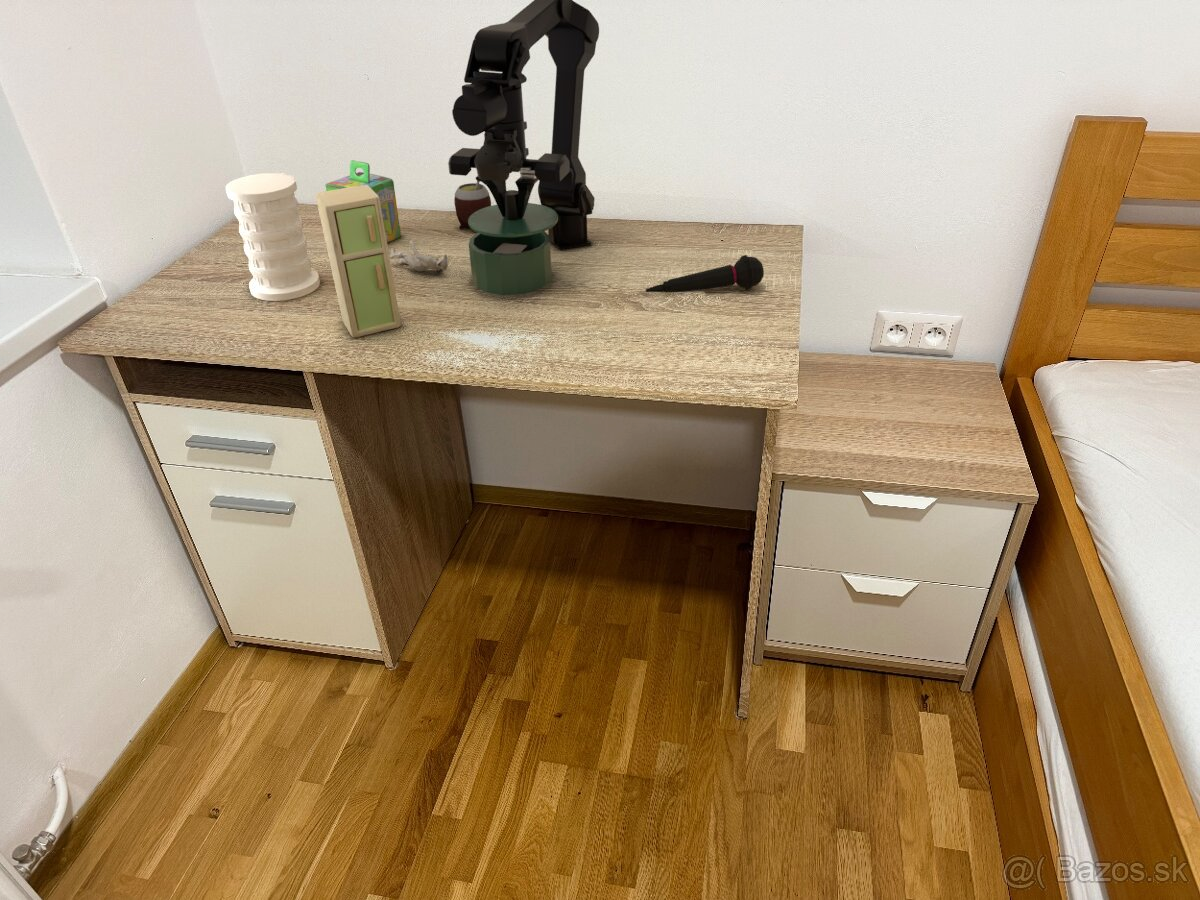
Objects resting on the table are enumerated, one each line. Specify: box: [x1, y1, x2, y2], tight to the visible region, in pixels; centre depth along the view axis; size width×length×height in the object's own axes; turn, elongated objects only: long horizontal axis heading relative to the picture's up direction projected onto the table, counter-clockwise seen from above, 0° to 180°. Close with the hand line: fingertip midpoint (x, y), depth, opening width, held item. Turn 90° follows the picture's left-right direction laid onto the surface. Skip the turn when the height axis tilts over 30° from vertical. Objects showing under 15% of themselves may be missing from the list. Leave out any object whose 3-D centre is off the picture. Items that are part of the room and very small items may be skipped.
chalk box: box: [325, 160, 402, 244], centre depth 163 cm, size 9×9×15 cm
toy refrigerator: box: [315, 185, 402, 339], centre depth 131 cm, size 8×7×21 cm
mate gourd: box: [453, 180, 492, 234], centre depth 168 cm, size 8×8×15 cm
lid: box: [468, 189, 558, 237], centre depth 142 cm, size 15×15×5 cm
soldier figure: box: [389, 240, 449, 273], centre depth 153 cm, size 8×5×12 cm
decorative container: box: [225, 172, 321, 302], centre depth 145 cm, size 12×12×18 cm
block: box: [493, 243, 528, 254], centre depth 148 cm, size 5×5×5 cm
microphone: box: [645, 254, 765, 293], centre depth 145 cm, size 6×6×20 cm
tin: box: [468, 231, 553, 296], centre depth 148 cm, size 14×14×8 cm
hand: (513, 217), depth 142 cm, fingers closed on lid, 3 cm apart
